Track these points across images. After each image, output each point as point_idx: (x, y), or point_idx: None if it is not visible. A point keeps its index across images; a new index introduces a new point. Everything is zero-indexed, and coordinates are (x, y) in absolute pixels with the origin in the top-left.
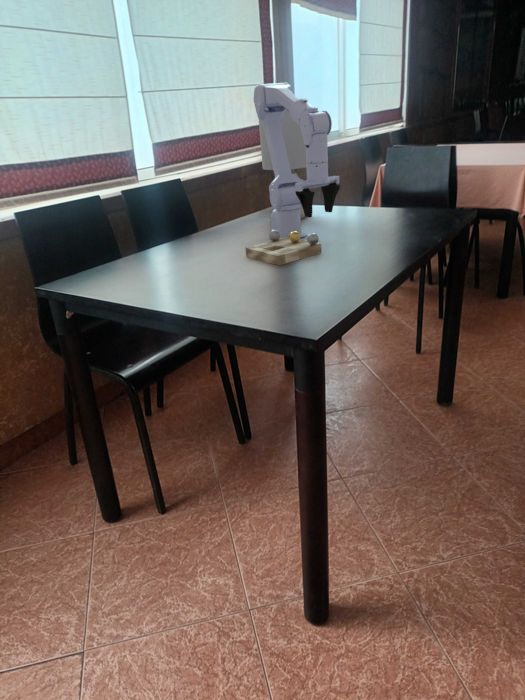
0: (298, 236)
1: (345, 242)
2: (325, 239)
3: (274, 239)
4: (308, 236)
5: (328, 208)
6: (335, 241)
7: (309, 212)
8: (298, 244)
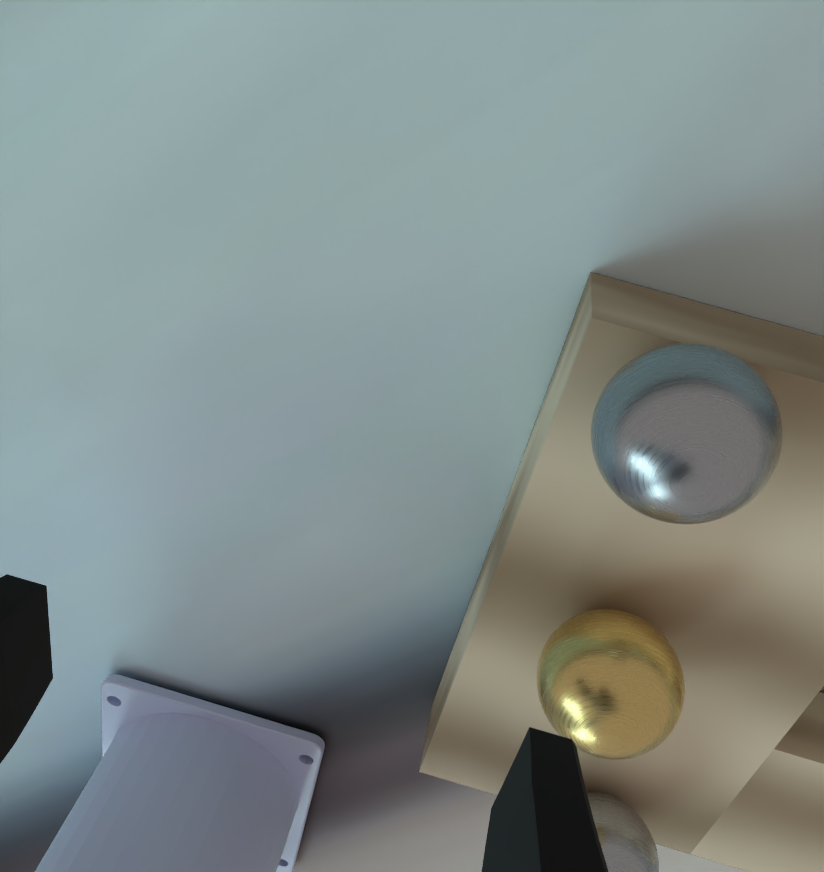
0: (631, 642)
1: (66, 240)
2: (96, 494)
3: (640, 817)
4: (754, 497)
5: (3, 674)
6: (98, 368)
7: (591, 838)
8: (698, 560)
